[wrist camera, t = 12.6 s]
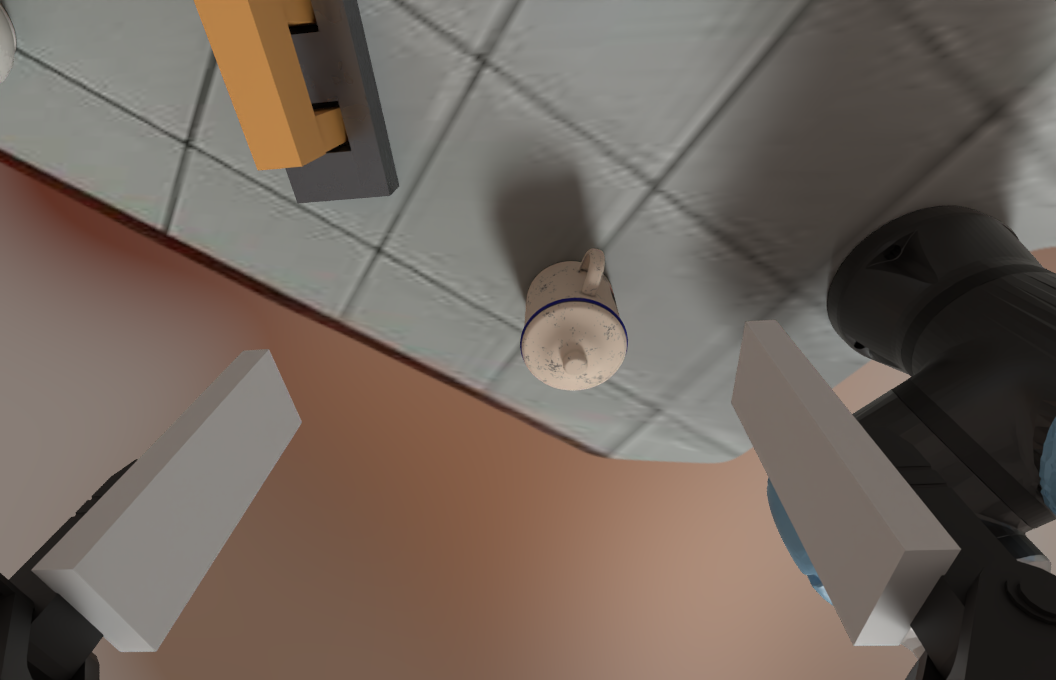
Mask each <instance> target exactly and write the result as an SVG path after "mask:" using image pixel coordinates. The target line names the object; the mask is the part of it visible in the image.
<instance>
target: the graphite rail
mask: <svg viewBox="0 0 1056 680" xmlns="http://www.w3.org/2000/svg"><path fill="white" fill-rule="evenodd" d="M311 3H312V7H313V10H314V14H315V18H316V21H317V25H318V29H319V32H312V33H303V34H294V35H291V37H292V40H293V44H294V47H295V51H296V54H297V57H298V61H299V64H300V67H301V71H302V74H303V77H304V81H305V84H306V87H307V91H308V94H309V98H310V101H311V104H312V103H322V102H332V101H338V103H339V106H340V110H341V114H342V117H343V121H344V125H345V129H346V132H347V136H348V140H349V143H350V145H347V146H337V147H335V148H333V149H331V150H329V151H327V152H326V154H325V155H323V156H321V157H319V158H317V159H315V160H313V161H312V162H310V163H308V164H306V165H304V166H302V167H291V168H286V171H287V174H288V177H289V180H290V183H291V186H292V189H293V191H294V194H295V197H296V200H297V203H307V202H319V201H331V200H344V199H356V198H368V197H380V196H390V195H391V194H392V193H393V192H394V191H395V190H396V189H397V188H398V187H399V183H398V178H397V174H396V170H395V165H394V161H393V156H392V152H391V148H390V143H389V139H388V135H387V130H386V126H385V121H384V117H383V113H382V108H381V104H380V100H379V95H378V91H377V86H376V82H375V78H374V73H373V69H372V65H371V60H370V56H369V52H368V47H367V43H366V38H365V34H364V30H363V25H362V21H361V17H360V12H359V8H358V3H357V0H311Z"/></svg>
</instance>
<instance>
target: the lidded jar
mask: <svg viewBox="0 0 1056 680" xmlns="http://www.w3.org/2000/svg"><path fill="white" fill-rule="evenodd" d="M16 45H17V41H16V34H15V30H14V27H13V24H12V22H11V20H10V18H9V16H8V14H7V12H6V11H5V9H4V8H3V6H2V5H1V4H0V83H2V82H3V81H4V80H5V79H6V77H7V75H8V74H9V72H10V70H11V69H12V66H13V63H14V54H15V51H16Z"/></svg>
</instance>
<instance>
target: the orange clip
mask: <svg viewBox="0 0 1056 680" xmlns="http://www.w3.org/2000/svg"><path fill="white" fill-rule="evenodd" d="M194 2H195V5H196V8H197V10H198V13H199V16H200V18H201V21H202V23H203V26H204V29H205V31H206V34H207V37H208V39H209V42H210V45H211V47H212V50H213V53H214V55H215V58H216V61H217V63H218V66H219V69H220V71H221V74H222V77H223V79H224V82H225V84H226V87H227V90H228V92H229V95H230V98H231V100H232V103H233V106H234V108H235V111H236V114H237V116H238V119H239V122H240V124H241V127H242V130H243V132H244V135H245V138H246V140H247V143H248V145H249V148H250V151H251V153H252V156H253V159H254V161H255V164H256V167H257V169H258V170H268V169H280V168H291V167H302V166H304V165H306V164H308V163H310V162H312V161H313V160H315V159H317V158H319V157H321V156H323V155H325V154H326V152H327V151H329V150H331V149H333V148H335V147H337V146H339V145H341V144H343V143H344V142H346V141H348V136H347V132H346V129H345V125H344V121H343V117H342V114H341V110H340V106H335V107H325V108H317V109H314V110H313V108H312V104H311V101H310V98H309V94H308V91H307V87H306V84H305V81H304V77H303V74H302V71H301V67H300V64H299V61H298V57H297V54H296V51H295V47H294V44H293V40H292V37H291V34H290V30H289V27H288V26H293V27H296V26H305V25H314V24H317V21H316V18H315V14H314V10H313V7H312V3H311V0H194Z"/></svg>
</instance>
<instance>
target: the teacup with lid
mask: <svg viewBox="0 0 1056 680" xmlns="http://www.w3.org/2000/svg"><path fill="white" fill-rule="evenodd" d="M604 265H605V256H604V253H603V252H602V251H601V250H599V249H595V248H591V249H589V250H588V251H587V252H586V254H585V255H584V257H583V260H582V262H577V261H565V262H560V263H556V264H554V265H551V266H549V267H547V268H546V269H544V270H543V271H541V272H540V273H539V274H538V275H537V276H536V277H535V279H534V280H533V281H532V283H531V285H530V287H529V290H528V293H527V300H526V313H525V325H524V329H523V331H522V335H521V341H520V348H521V354H522V357H523V360H524V362H525V364H526V366H527V367H528V369H529V370H530V371H531V373H532V374H533V375H534V376H535V377H537V378H538V379H539V380H540V381H542V382H544V383H545V384H547V385H549V386H552V387H555V388H558V389H563V390H583V389H588V388H591V387H594V386H597V385H599V384H601V383H603V382H604V381H606V380H607V379H609V378H610V377H611V376H612V375H613V374H614V373H615V372H616V371H617V370H618V369H619V367H620V366H621V364H622V362H623V360H624V358H625V355H626V352H627V346H628V338H627V332H626V329H625V326H624V324H623V322H622V321H621V319H620V317H619V313H618V309H617V305H616V301H615V297H614V293H613V290H612V287H611V284H610V282H609V281H608V279H607V278H606V277H605V275H604V274H603V271H604Z"/></svg>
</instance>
